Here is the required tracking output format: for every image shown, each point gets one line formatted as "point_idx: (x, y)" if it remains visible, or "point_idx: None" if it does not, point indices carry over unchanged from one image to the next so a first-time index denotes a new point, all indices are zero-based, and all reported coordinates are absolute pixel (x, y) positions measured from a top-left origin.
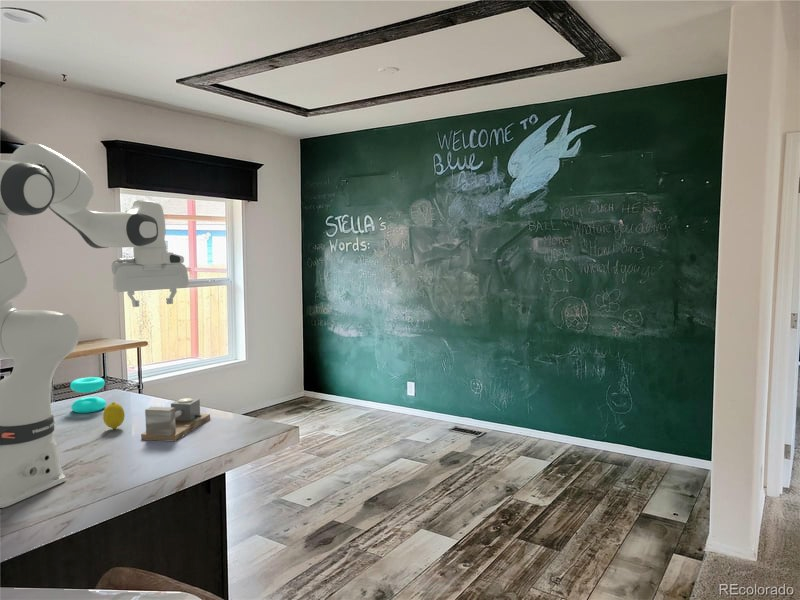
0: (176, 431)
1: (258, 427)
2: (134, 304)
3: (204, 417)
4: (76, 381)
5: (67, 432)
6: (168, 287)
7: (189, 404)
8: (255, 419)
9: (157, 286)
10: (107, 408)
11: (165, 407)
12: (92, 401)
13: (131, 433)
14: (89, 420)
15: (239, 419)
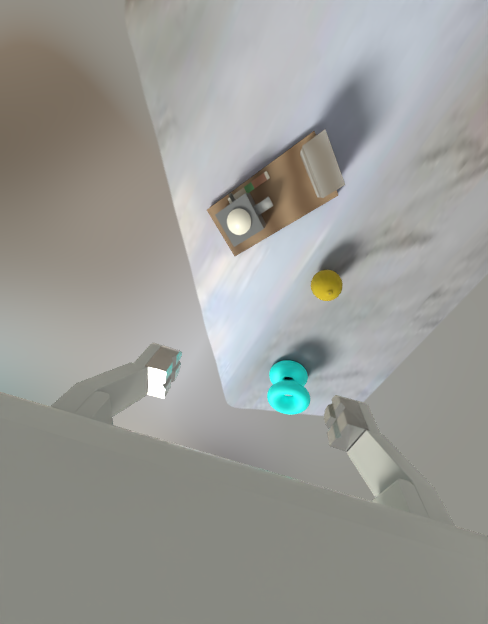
0: (296, 156)
1: (174, 76)
2: (368, 410)
3: (222, 198)
4: (303, 405)
5: (363, 313)
6: (107, 434)
7: (245, 194)
8: (157, 137)
9: (211, 487)
10: (340, 289)
11: (312, 164)
12: (290, 371)
13: (323, 239)
14: (315, 336)
15: (177, 163)
